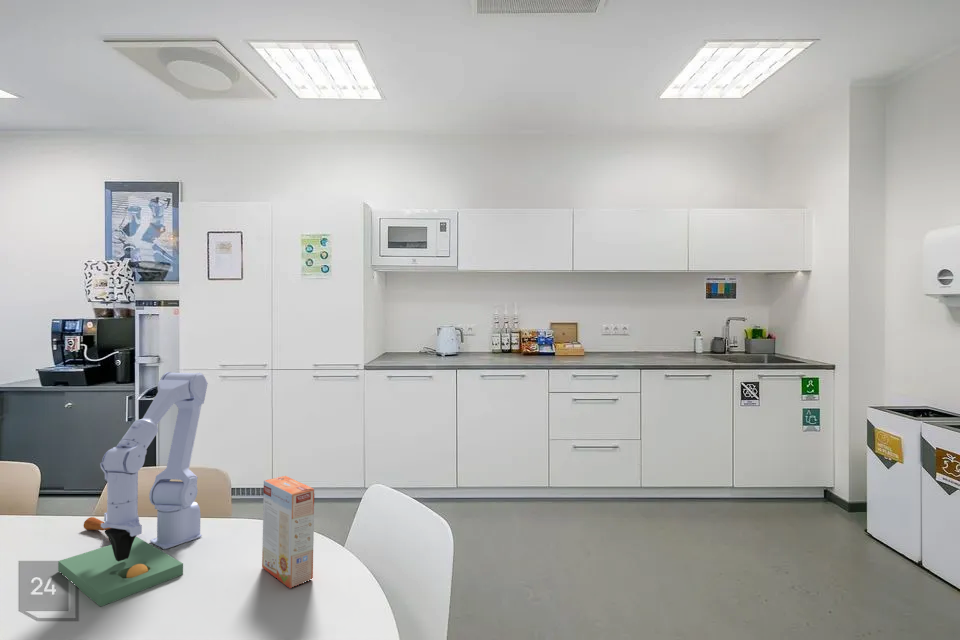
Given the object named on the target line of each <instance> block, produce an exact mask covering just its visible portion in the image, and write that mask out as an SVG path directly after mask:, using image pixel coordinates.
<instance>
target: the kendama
mask: <svg viewBox="0 0 960 640" xmlns="http://www.w3.org/2000/svg"><path fill="white" fill-rule="evenodd" d="M102 523H105V521H104V520H101V519H98V518H96V517H94V516H91V517H88V518H87V519H85V521H84V522H83V528H84V530H86V531H105V530H107V529H110V528H102V527H101V524H102ZM136 537H138V535H136Z"/></svg>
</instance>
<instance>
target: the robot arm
mask: <svg viewBox="0 0 960 640" xmlns="http://www.w3.org/2000/svg"><path fill="white" fill-rule="evenodd" d="M208 385H209V383H208V381H207V379H206V376H205V375H204V374H203V373H202V372H172V371H167V372H165V373H164V374H163V375H161V377H160V380H159V381H158V382H157V393H156V395H155V396H154V398H153V400H152V402H151V403H150V405H149V407H148V408H147V410H146V412H145V413H144V415H143V417H142V418H141V419H136V420H134V421H133V422H132V424H131V425H130V427H129V428H128V430H127V431H126V433H124V435H123V436H122V438H121V439H120V440H119V442H118V443H117V445H116V446H114V447H112V448H110V449H108V450H107V451H106V452H105V453H104V455H103V456H102V460H101V462H100V463H99V465H100V469H101V471H102V472H103V474H104V480H105V481H106V482H107V484H106V485H107V488H106V493H107V494H106V496H107V497H106V502H107V503H106V512H104V513H103V522H105V523H102V524H101V527H102V528H110V529H107V530H104V534H105V535H106V537H107V539H108V540H109V543H110V545H112V548H113V552H114V556H115V559H116V560H117V561H121V560H124V559H127V558H128V557H129V554H130V550H131V547H132V544H133V541H134V539H135V537H137V536H139V535H141V534H142V533H143V532H142V531H143V530H142V529H143V526H142V524H140V518H139V515H138V513H139V512H138V509H139V507H138V503H139V502H138V501H139V500H138V499H139V497H138V496H139V495H138V493H139V490H138V489H139V481H138V480H139V471H140V470H141V469H142V467H143V466H144V464H145V461H146V455H147V454H148V453H147V452H148V450H147V449H148V447H149V446H150V445H151V443H152V442H153V440H154V439H155V437H156V436H157V435H158V432H159V427H158V424H159V422H160V421H161V420H162V419H163V417H164V416H165V415H166V414H167V413H168V411H169V410H170V409H171V408H172V406H173V405H175V406H176V407H177V409H178V410H177V415H176V420H175V425H174V430H173V433H172V439H171V444H170V449H169V453H168V454H169V455H168V460H167V464H166V468H165V469H164V470H162V471H161V472H159V473H158V474H157V475H156V476H155V479H154V482H153V485H152V486H151V487H150V491H149V496H148V497H149V502H150V504H151V505H152V506H154V510H157V512H156V513H157V516H156V519H157V523H156V524H157V525H156V527H157V528H156V537H154V538H151V539H150V540H149V541H150V543H152V544H154V545H155V546H157V547H159V548H160V549H163V550H168V549H170V548H173V547H176V546H179V545H182V544H186V543H187V542H190V541H193V540H196V539H199V538H202V536H203V535H202V534H201V508H200V506H199V504H198V502H196V499H197V495H198V491H199V490H198V476H197V475H196V474H195V473H194V472H193V471H192V470H191V469H190V465H191V461H192V457H193V451H194V445H195V440H196V437H197V436H196V434H197V430H198V425H199V419H200V414H201V410H202V405H203V404H204V403H205V399H206V394H207V388H208ZM174 480H175V481H174ZM176 480H177V481H176ZM179 480H180V481H179ZM136 535H137V536H136Z"/></svg>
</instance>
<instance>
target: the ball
mask: <svg viewBox="0 0 960 640" xmlns="http://www.w3.org/2000/svg"><path fill="white" fill-rule="evenodd" d="M146 572H148V568H147V567H146V566H145V565H144V564H136V565H134V566H132V567H131V568H130V569H129V570H128V572H127V575H126V578H133V577H135V576H138V575H141V574H144V573H146Z"/></svg>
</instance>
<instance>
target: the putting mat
mask: <svg viewBox="0 0 960 640" xmlns="http://www.w3.org/2000/svg"><path fill="white" fill-rule="evenodd" d="M57 562H58V563H57V564H58V566H57V569H58V570H57V571H59V572H61V573H62V574H63V575H64V576H66V577H67V578H68V579H69V580H70V581H72V582H73V583H74V584H75V585H76V586H77V587H78V588H79V589H80V590H79V591H81V592H82V593H83V594H84V595H85V596H86V597H88V598H89V597H90V598H91V599H90V598H89V599H90V600H91V601H93V602H94V601H95V602H96V603H97V604H96V603H95V602H94V603H95V604H96V605H97V606H98V607H100V606H101V607H104V606H105V605H108V603H109V604H111V603H114V602H115V601H116V602H117V601H118V600H121V599H124V598H126V597H129V596H131V595H134V594H137V593H139V592H142V591H145V590H146V589H150V588H151V587H154V586H157V585H160V584H162V583H164V582H167V581H169V580H172V579H174V578H177V577H180V576H183V575H184V563H183V562H181V561H179V560H178V559H176V558H174V557H173V556H171V555H169V554H167V553H166V552H164V551H162V550H161V549H159V548H157V547H156V546H154V545H151V544H150V543H149V542H147V541H145V540H144V539H142V538H140V537H138V536H136V537H135V539H134V541H133V544H132V547H131V550H130V554H129V557H128V558H127V559H124V560H121V561H117V560H116V559H115V556H114V552H113V548H112V545H111V544H109V545H106V546H102V547H98V548H96V549H93V550H90V551H86V552H84V553H80V554H77V555H74V556H71V557H68V558H67V557H66V558H63V559H61V560H58V561H57ZM136 564H144V565H145V566H146V567H147V568H148V572H146V573H144V574H141V575H138V576H135V577H133V578H126V575H127V572H128V570H129V569H130V568H131V567H132V566H134V565H136ZM59 572H58V573H59ZM63 575H62V576H63ZM64 576H63V577H64ZM69 580H68V581H69ZM70 581H69V582H70ZM75 585H74V586H75ZM76 586H75V587H76ZM77 587H76V588H77ZM78 588H77V589H78ZM103 605H104V606H103Z"/></svg>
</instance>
